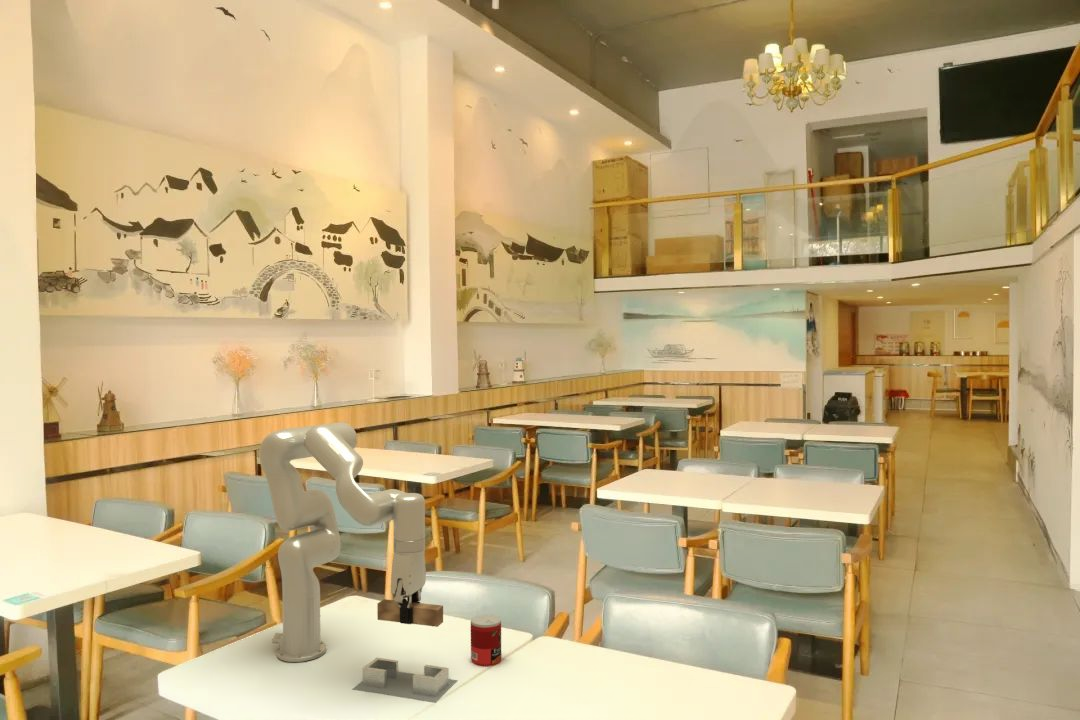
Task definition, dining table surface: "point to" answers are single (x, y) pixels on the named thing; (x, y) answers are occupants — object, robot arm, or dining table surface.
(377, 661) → the endcap
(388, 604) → the slat
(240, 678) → the dining table surface
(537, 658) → the dining table surface
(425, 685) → the endcap
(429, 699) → the mat
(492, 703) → the dining table surface
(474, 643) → the canned food
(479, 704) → the dining table surface
